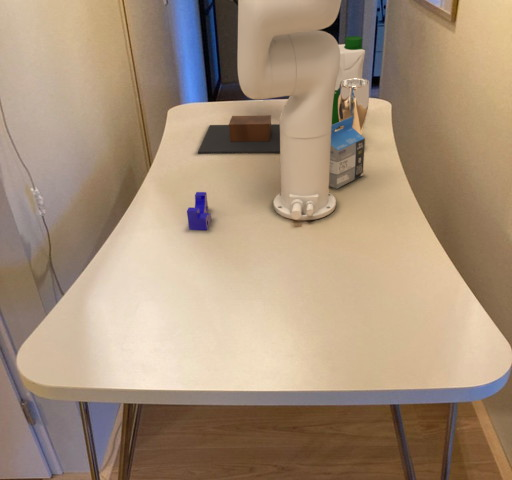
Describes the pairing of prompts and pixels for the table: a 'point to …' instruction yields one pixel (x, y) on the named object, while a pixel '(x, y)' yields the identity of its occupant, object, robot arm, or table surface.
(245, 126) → the walnut block
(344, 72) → the milk carton
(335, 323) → the table surface
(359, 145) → the label tape box
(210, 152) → the mat
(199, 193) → the cable holder
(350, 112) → the silver metal cup
